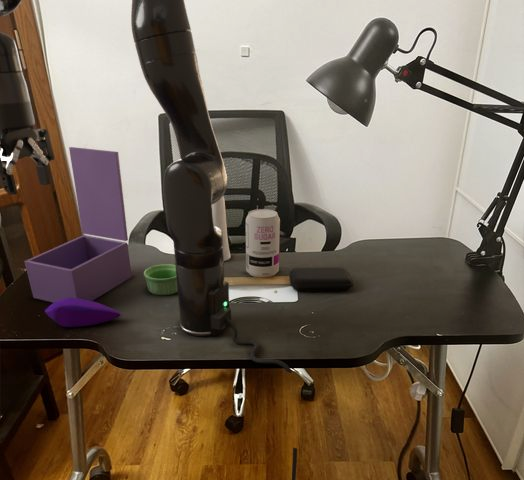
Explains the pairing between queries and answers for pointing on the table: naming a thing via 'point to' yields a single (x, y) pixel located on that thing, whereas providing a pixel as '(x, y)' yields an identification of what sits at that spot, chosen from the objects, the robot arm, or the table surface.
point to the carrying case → (320, 279)
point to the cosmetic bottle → (221, 224)
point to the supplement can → (262, 243)
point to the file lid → (99, 192)
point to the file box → (79, 269)
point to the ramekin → (161, 279)
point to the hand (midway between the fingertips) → (29, 189)
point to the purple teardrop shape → (80, 312)
